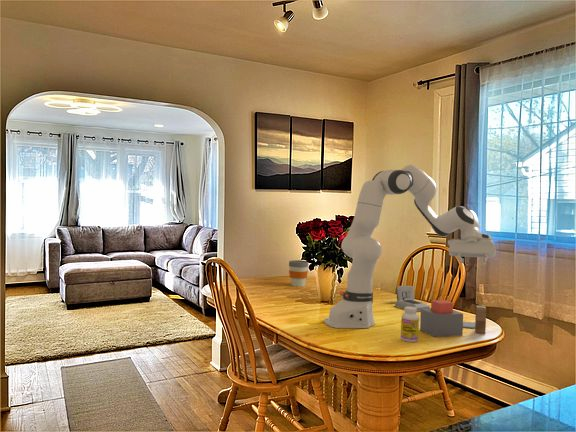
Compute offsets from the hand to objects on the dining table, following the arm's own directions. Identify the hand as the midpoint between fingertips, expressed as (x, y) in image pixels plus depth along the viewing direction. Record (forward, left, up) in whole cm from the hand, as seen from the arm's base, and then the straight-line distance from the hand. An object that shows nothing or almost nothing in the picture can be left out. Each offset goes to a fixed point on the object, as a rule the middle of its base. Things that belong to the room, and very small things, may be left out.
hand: (473, 263), depth 212 cm
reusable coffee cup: (-49, +105, -28) cm, 119 cm away
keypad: (-10, +33, -28) cm, 45 cm away
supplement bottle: (-41, -17, -28) cm, 53 cm away
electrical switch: (-7, +46, -28) cm, 54 cm away
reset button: (-22, -10, -20) cm, 31 cm away
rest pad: (-4, -2, -28) cm, 28 cm away
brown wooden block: (-5, -13, -28) cm, 31 cm away
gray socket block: (-22, -10, -28) cm, 37 cm away
